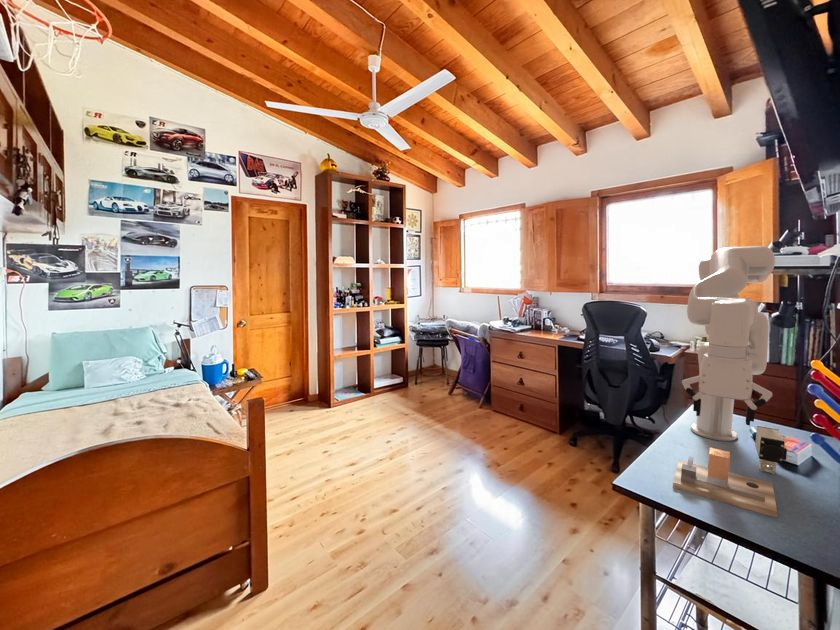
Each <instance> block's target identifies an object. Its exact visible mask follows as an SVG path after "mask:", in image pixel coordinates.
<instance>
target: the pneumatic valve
mask: <svg viewBox="0 0 840 630" xmlns="http://www.w3.org/2000/svg"><path fill="white" fill-rule="evenodd" d="M787 439H788V438H787V437H786V435H783V434H782V433H781V431H780V430H779V429H778V428H777V429H776V428H771V427H766V426H760V425H756V433H755V443H754V444H755V445H754V446H755V450H756V453H757V457H758V464H757V466H758V469H759V471H760V472H766V473H771V474H772V475H776V474H777V472H776V470H777V468H776V466H778V464H783V461H787V454H788V453H787V452H788V449H787V447H786V445H785V442H786V441H788V440H787Z"/></svg>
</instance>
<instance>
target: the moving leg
mask: <svg viewBox="0 0 840 630" xmlns="http://www.w3.org/2000/svg"><path fill="white" fill-rule="evenodd" d="M730 459H731V452H730V451H727V450H723V449H719V448H713V447H709V453H708V478H707V483H710V484H714V485H718V486H721V487H725V488H727V487H728V475H729V473H730Z"/></svg>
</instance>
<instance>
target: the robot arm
mask: <svg viewBox="0 0 840 630" xmlns="http://www.w3.org/2000/svg"><path fill="white" fill-rule="evenodd" d="M775 263H776V257H775V254H774V251H773V250H772V249H771V248H770V247H768V246H765V245H753V246H752V245H750V246H748V245H747V246H730V247H729V246H728V247H722V248H719V249H717V250H715V251H714V252H713V253H712V254H711V256H710V257H707V258H704V259H702V260H701V261H700V262H699V265H698V275H699V280H700V281H698V282H697V283H696V284H695V285H694V286H692V288H691V289H690V292H689V294H688V299H687V300H688V301H687V306H686V313H687V319H688V320H689V322H690V323H691V324H692V325H697V326H704V329H705V330H704V331H705V333H706V335H708V341H707V342H705V343H702V344H701V345H699V346H698V350H697V359H698V360H697V361H698V369H699V374H698V375H696V376H692V377H689V378H685V379H683V380H682V381H681V384H682V386H683V388H684V390H685V392H686V393H687V394H688V395H689V396H690V398H692V400H693V406H692V407H693V408H692V410H693V412H695V413H696V414H695V416H696V422H693V423H692V424H691V425H690V430H691V431H692V432H693V433H695V434H696V435H698V436H700V437H703V438H707V439H709V440H710V439H711V440H716V441H720V442H721V441H722V442H723V441H724V442H726V441H727V442H730V441H734V440H736V439H737V438H738V433H737V432H736V431H735V430H734V429H733V420H734V419H733V418H734V405H735V400H737V401H738V400H739V401H743V402H744V403H745V404H746V405H747V406H746V411H745V425H746V426H751V422H753V423H754V421H755V412H756V410H757V409H758V408H760V407H762V406H764V405H766V403H767V402H768V401H769V400H770V399H771V398H772V397H773V392H772V391H770V390H768V389H766V388H765V387H763V386H761V385H759V384H757V383H755V382H753V377H754V376H755V375H756V376H758V375H762V374H764V372H765V371H766V369H767V363H768V349H769V346H768V345H769V332H770V331H769V320H768V318H767V315H766V314H764V313H763V312H761V311H759V307H758V305H757V304H756V302H754V301H753V300H752V299H749V298H745V297H740V294H738V293H740V292H741V291H743V290H744V289H745V288H746V287H747V285H748V283H749V284H751V283H752V284H754V283H757V284H758V283H763V282H764V281H766V280H768V277H770V275H771V274H772V272H773V271H774V268H775ZM695 383H698V389H697V391H695V390H694V389H693V388H692V387H691V384H695ZM753 391H755V392H756V393H757V392H758V393H759V394H761V396H760V397H759V398H757V399H756V400H754V399H753V398H752V395H753V394H752V393H753Z"/></svg>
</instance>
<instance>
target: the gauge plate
mask: <svg viewBox="0 0 840 630" xmlns="http://www.w3.org/2000/svg"><path fill="white" fill-rule="evenodd" d="M707 478H708V467H707V466H703V465H700V464H695V463H694V457H693V456H690V455H689V456H688V460H687V461H685V460H680V459H679V460H678V463H677V467H676V470H675V473H674V478H673V482H672V488H673V489H677V490H679V491H683V492H687V493H690V494H693V495H696V496H697V495H698V496H701V497H704V498H708V499H710V500H715V501H718V502H722V503H726V504H728V505H730V506H731V505H732V506H735V507H738V508H742V509H745V510H748V511H752V512H756V513H759V514H762V515H766V516H769V517H772V518H777V517H778V509H777V503H776V497H775V491H774V484H773V483H771V482H768V481H764V480H759V479H756V478H751V477H747V476H743V475H740V474H736V473H731V472H729V475H728V487H727V488H725V487H721V486H718V485H714V484H710V483H707Z"/></svg>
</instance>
